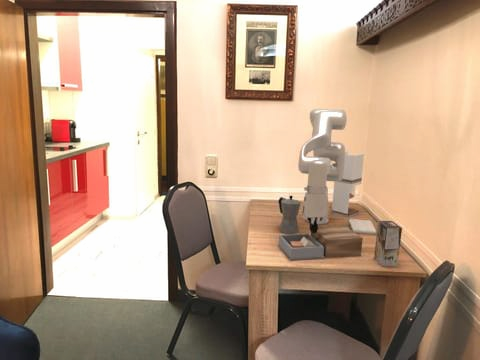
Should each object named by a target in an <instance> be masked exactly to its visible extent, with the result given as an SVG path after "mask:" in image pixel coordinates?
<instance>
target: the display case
mask: <svg viewBox="0 0 480 360" xmlns="http://www.w3.org/2000/svg"><path fill="white" fill-rule="evenodd" d="M364 161H365V153H357V154H350V153H349V151H345V162H344V174H343V179H342V180H341V181H339V182H334V181H333V182H334V183H333V192H332V194H333V195H332V196H333V197H332V207H331V214H332V213H333V214H332V215H336V214H337V215H336V216H339V215H341V216H340V217H343V216H344V218H347V217H348V218H352V217H354V216H356V215H359V212H360V211H359V210H358V209H355V208H349V207H350V206H349V205H350V199H354V197H355V194H356V186H358V185H361V184H362V181H363V171H364ZM348 218H347V219H348Z"/></svg>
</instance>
